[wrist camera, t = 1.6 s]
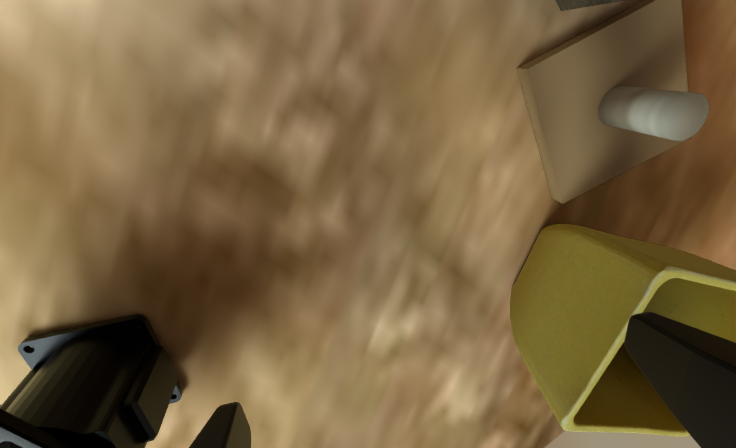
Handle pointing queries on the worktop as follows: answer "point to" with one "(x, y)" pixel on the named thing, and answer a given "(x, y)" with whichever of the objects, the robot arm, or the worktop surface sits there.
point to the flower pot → (609, 322)
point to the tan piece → (612, 98)
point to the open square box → (581, 3)
